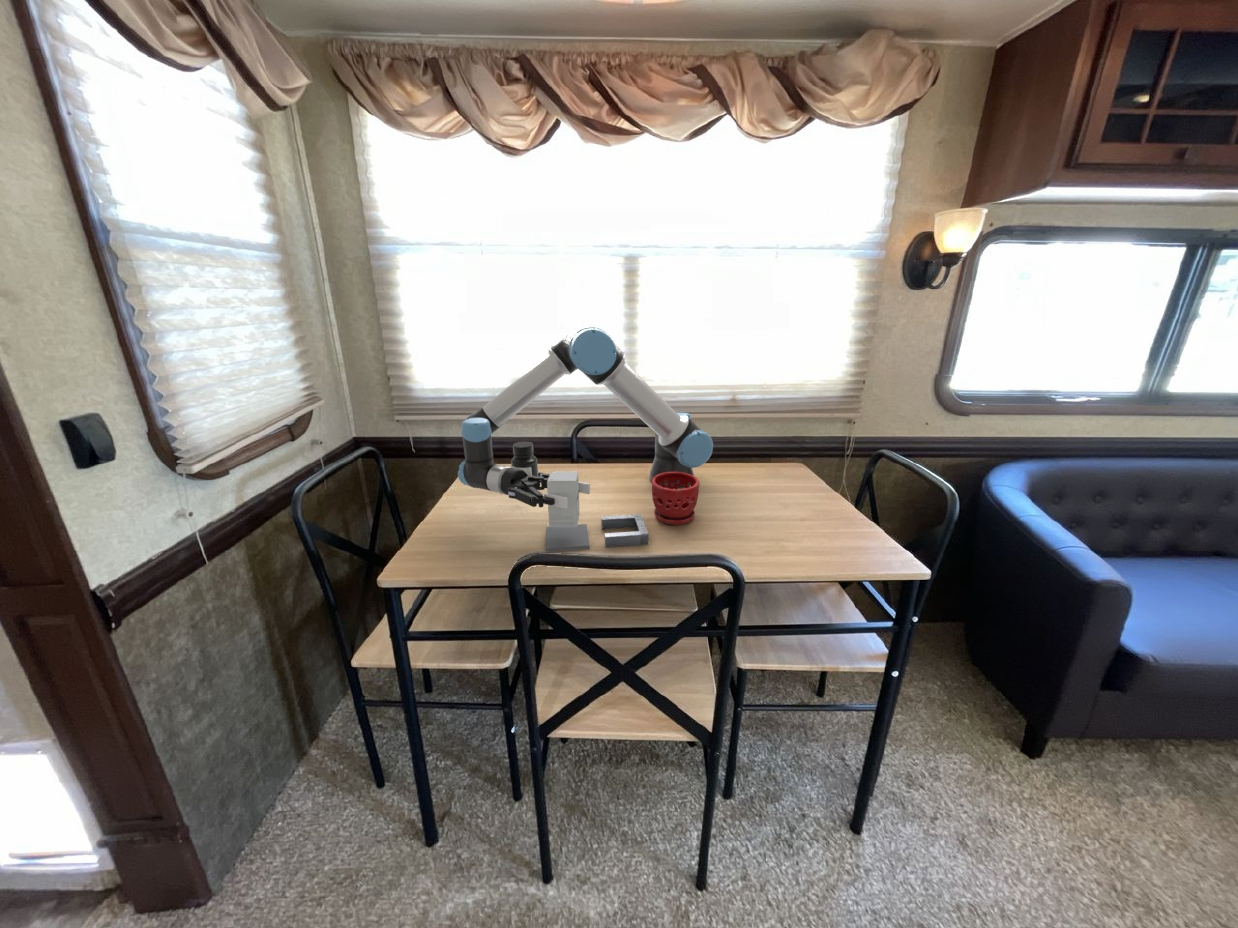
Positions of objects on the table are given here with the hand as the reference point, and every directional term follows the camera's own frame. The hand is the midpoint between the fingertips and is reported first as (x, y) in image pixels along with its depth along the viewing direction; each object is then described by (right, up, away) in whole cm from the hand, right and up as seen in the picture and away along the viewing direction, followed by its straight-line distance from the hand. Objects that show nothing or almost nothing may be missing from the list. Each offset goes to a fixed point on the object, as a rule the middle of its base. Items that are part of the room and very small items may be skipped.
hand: (578, 495), depth 123 cm
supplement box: (-4, -7, +5) cm, 9 cm away
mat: (-3, -12, +6) cm, 14 cm away
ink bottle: (-23, +3, +50) cm, 55 cm away
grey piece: (+11, -11, +8) cm, 18 cm away
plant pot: (+26, -8, +17) cm, 32 cm away
